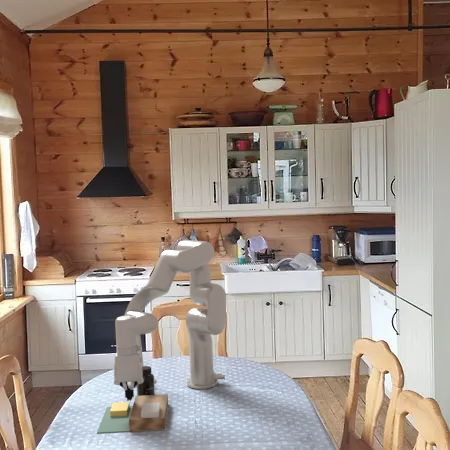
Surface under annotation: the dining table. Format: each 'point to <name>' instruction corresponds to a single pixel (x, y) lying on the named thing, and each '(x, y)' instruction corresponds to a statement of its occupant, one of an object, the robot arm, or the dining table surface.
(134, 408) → the board
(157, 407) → the white flat block
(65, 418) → the dining table surface
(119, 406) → the yellow rectangular block
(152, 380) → the supplement bottle
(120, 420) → the mat
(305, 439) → the dining table surface
